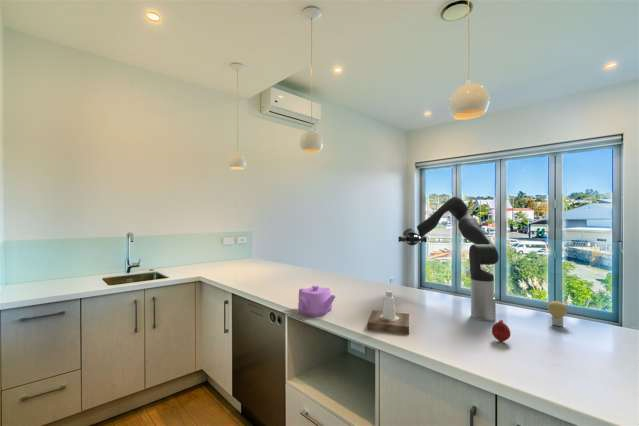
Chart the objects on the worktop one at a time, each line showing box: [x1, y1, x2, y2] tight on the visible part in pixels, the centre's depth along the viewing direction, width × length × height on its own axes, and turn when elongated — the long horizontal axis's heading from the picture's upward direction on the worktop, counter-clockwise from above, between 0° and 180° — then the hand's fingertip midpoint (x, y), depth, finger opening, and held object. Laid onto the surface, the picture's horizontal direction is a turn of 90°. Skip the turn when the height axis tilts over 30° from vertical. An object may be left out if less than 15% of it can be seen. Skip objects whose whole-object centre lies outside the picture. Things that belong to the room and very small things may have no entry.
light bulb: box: [547, 300, 568, 327], centre depth 121 cm, size 6×6×10 cm
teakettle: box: [297, 285, 336, 318], centre depth 138 cm, size 17×17×12 cm
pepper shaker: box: [382, 290, 396, 319], centre depth 121 cm, size 5×5×11 cm
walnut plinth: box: [367, 309, 410, 335], centre depth 121 cm, size 16×16×3 cm
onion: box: [491, 319, 511, 343], centre depth 104 cm, size 6×6×8 cm
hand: (412, 240), depth 147 cm, fingers open, 8 cm apart
